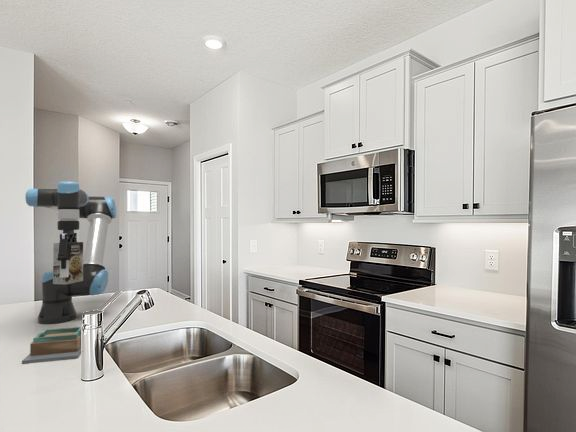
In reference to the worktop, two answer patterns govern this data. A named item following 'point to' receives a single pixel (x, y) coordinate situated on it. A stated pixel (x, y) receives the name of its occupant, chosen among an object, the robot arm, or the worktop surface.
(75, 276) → the coffee box
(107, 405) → the worktop surface
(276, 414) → the worktop surface
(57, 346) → the riser
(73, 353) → the baseplate
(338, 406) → the worktop surface
